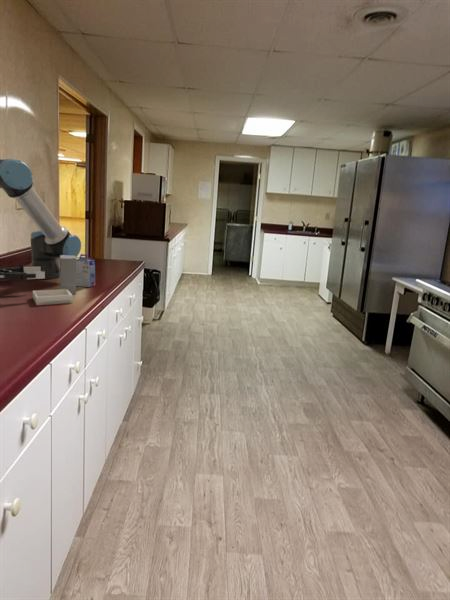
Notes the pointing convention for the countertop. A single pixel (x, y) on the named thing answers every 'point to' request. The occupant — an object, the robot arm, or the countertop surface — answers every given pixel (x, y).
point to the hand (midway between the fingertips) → (42, 272)
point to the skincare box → (68, 273)
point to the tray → (52, 296)
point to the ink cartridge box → (85, 272)
